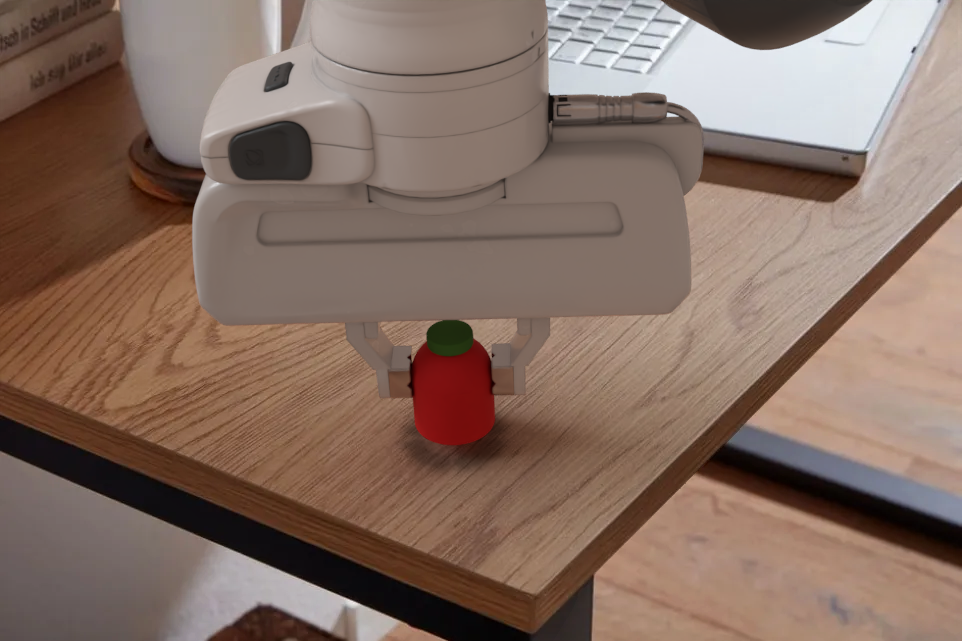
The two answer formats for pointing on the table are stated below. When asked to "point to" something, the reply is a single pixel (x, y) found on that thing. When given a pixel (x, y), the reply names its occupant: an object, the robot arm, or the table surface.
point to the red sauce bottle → (452, 385)
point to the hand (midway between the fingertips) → (452, 389)
